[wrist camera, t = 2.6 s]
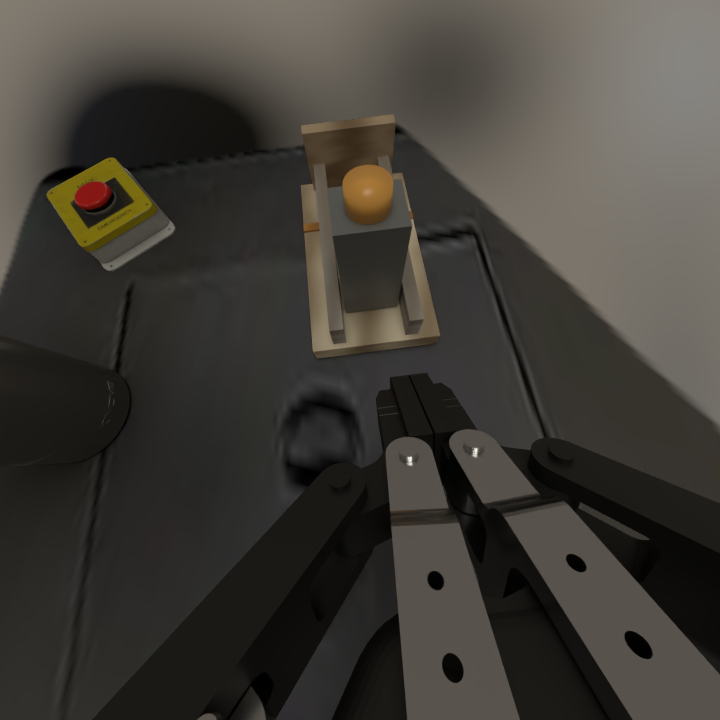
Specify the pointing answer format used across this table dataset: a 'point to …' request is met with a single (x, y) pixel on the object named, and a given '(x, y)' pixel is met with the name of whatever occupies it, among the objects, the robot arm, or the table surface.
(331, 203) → the orange-capped grey pillar
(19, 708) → the table surface
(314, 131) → the track
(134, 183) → the emergency button
